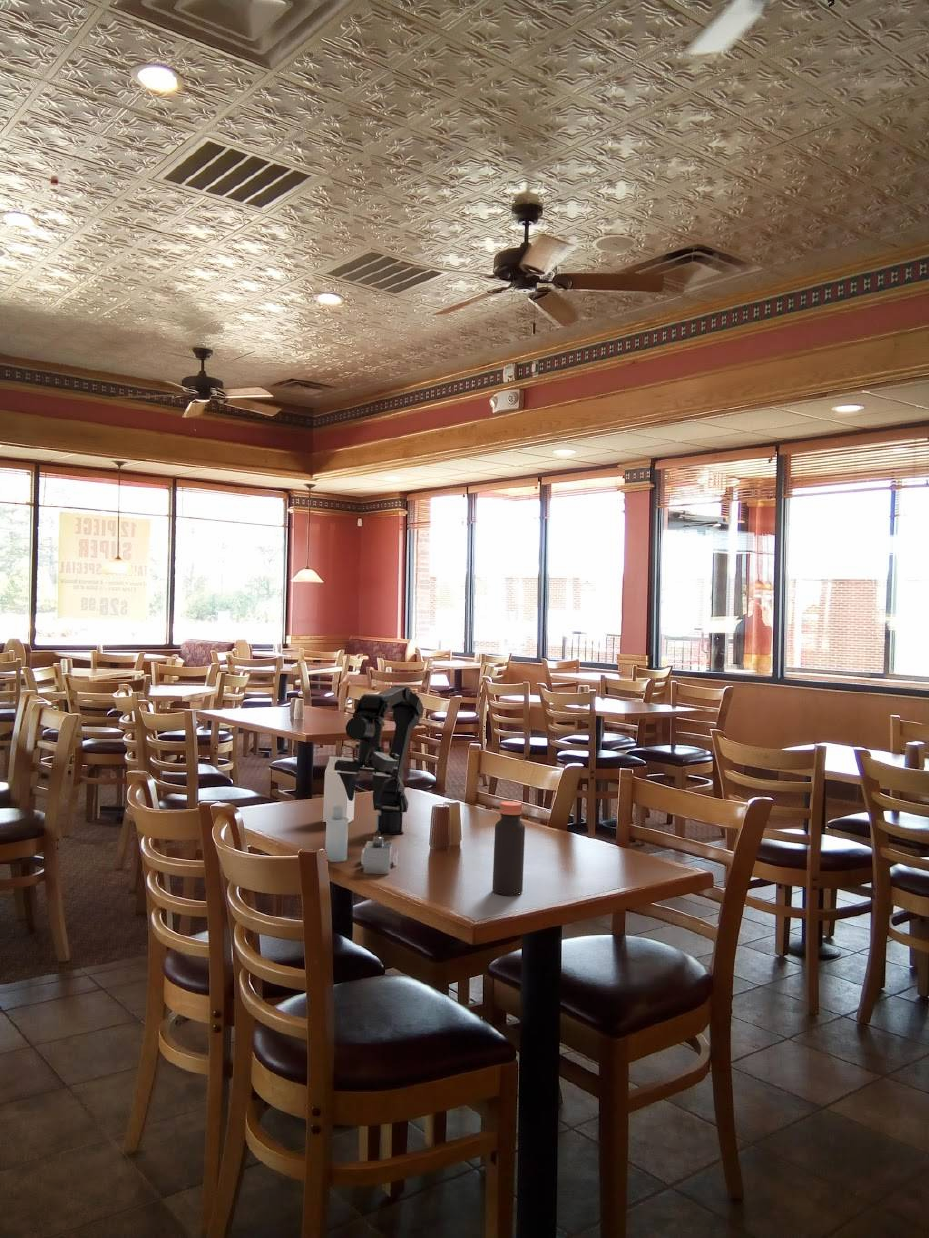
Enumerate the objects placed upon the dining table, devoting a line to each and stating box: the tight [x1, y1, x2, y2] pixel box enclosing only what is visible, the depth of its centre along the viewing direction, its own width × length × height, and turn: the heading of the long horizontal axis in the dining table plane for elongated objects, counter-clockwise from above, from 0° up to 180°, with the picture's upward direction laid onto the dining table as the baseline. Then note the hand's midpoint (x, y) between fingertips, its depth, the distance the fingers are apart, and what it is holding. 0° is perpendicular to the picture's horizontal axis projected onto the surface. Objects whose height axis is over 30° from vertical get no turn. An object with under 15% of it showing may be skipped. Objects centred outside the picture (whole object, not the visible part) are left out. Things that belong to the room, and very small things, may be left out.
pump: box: [324, 806, 349, 863], centre depth 237 cm, size 5×5×13 cm
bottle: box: [491, 800, 526, 896], centre depth 215 cm, size 7×7×20 cm
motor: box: [360, 835, 399, 875], centre depth 231 cm, size 12×9×8 cm
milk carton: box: [322, 755, 356, 824], centre depth 280 cm, size 7×7×19 cm
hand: (363, 801), depth 251 cm, fingers open, 9 cm apart
